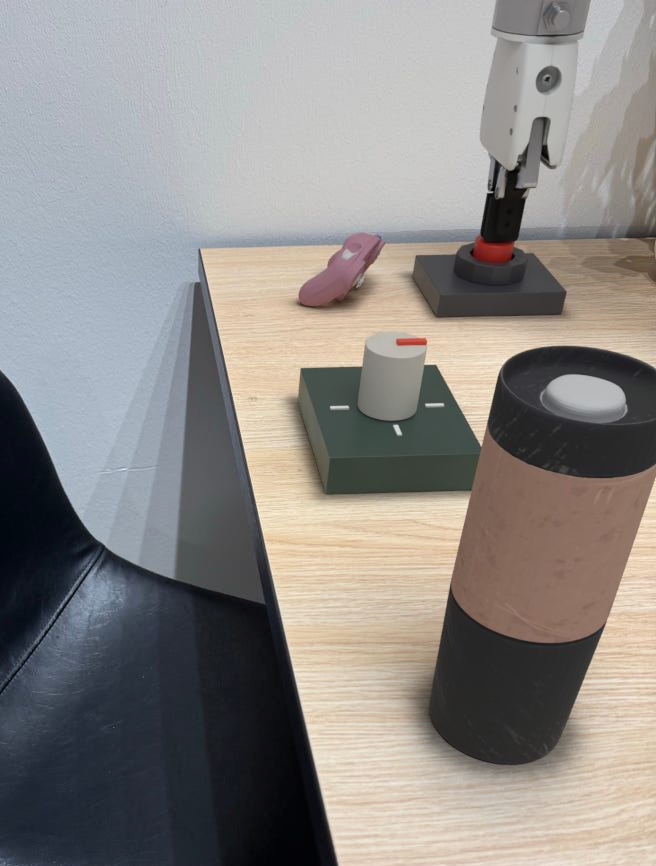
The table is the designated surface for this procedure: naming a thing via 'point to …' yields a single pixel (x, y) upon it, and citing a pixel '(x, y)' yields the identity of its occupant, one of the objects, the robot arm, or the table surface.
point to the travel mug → (543, 546)
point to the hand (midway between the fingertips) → (498, 238)
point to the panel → (386, 437)
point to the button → (492, 250)
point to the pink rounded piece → (343, 270)
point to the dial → (391, 375)
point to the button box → (487, 285)
